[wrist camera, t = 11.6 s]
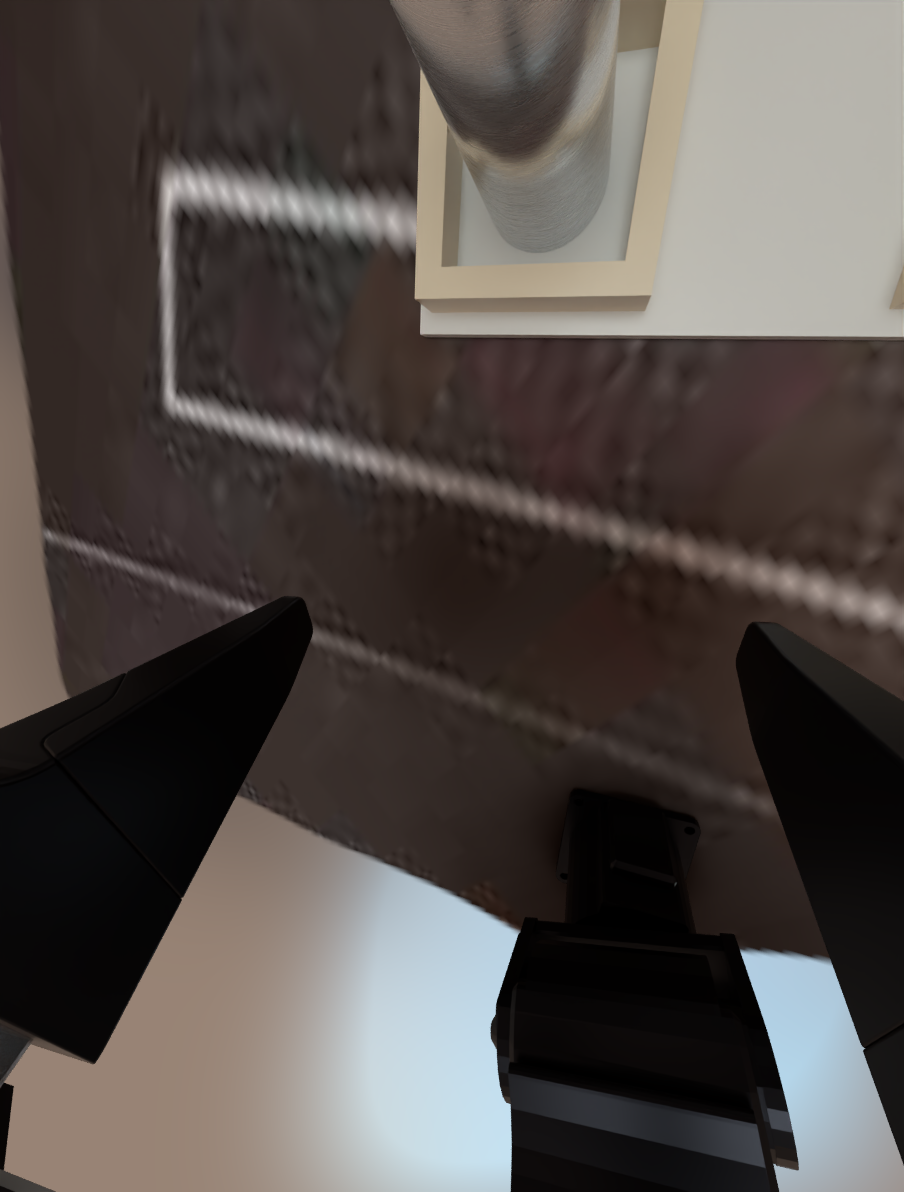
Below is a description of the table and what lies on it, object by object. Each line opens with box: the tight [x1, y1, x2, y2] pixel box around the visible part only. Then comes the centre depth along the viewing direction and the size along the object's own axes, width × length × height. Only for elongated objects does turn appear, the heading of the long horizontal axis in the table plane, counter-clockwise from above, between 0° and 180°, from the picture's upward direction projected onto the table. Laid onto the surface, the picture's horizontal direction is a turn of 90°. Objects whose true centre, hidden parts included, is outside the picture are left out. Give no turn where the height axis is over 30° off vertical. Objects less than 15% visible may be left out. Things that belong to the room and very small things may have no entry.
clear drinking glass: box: [389, 0, 621, 253], centre depth 11 cm, size 4×4×12 cm
